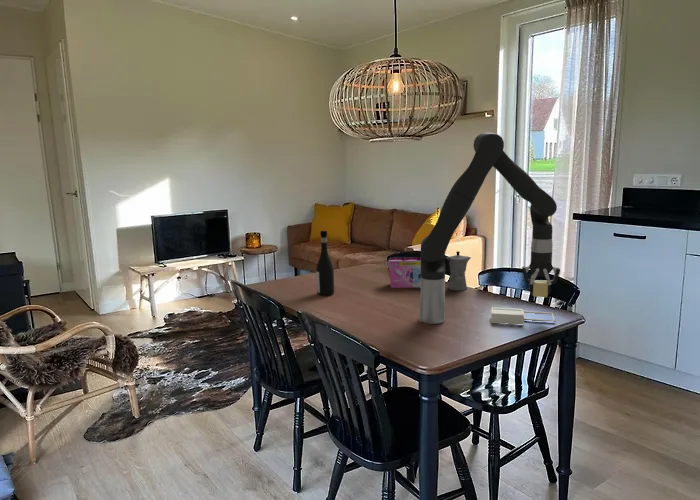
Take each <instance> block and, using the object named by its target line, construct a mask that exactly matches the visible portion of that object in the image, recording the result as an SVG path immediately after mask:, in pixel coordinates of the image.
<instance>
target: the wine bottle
mask: <svg viewBox="0 0 700 500" xmlns="http://www.w3.org/2000/svg"><path fill="white" fill-rule="evenodd" d="M319 233H320V244H321V245H320V249H321V250H320V256H319V259H318V262H317V265H316V271H315V273H316V276H315V277H316V294H317V295H318V296H320V297H321V296H322V297H331V296H332V295H334V294H335V271H334V265H333V263H332V261H331V258H330V255H329V253H328V236H327V235H328V231H327V230H321V231H320V232H319Z"/></svg>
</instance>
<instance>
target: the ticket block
mask: <svg viewBox="0 0 700 500" xmlns="http://www.w3.org/2000/svg"><path fill="white" fill-rule="evenodd" d="M523 311H524V309H523V308H514V307H513V308H511V307H495V306H491V318H490V319H491V320H490V322H491V326H494V325H497V326H498V324H492V323H508V324H523V325H524V314H523Z"/></svg>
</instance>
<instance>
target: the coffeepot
mask: <svg viewBox="0 0 700 500" xmlns="http://www.w3.org/2000/svg"><path fill="white" fill-rule="evenodd" d="M460 253H461V252H460V251H458V250H457V251H456V254H455V255H449V256H445V262H448V263H449V271H447V268H446V267H445V275H449V280H448V284H447V285H448V286H447V288H448V290H450V291H465V290H468V289H467V288H468V287H467V279H466V270H467V266H468V263H469V261H470V259H471V258H472V257H470V256H466V255H460ZM449 272H450V274H449Z"/></svg>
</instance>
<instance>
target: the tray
mask: <svg viewBox="0 0 700 500" xmlns="http://www.w3.org/2000/svg"><path fill="white" fill-rule="evenodd" d="M525 313H535V314H551V315H552V318H553V320H542V319H526V318H525ZM523 314H524V320H532V321H554V322H555V323H556V319H555V317H554V313H553V312H544V311H531V310H529V311H527V310H523ZM524 320H523V321H524Z"/></svg>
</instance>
